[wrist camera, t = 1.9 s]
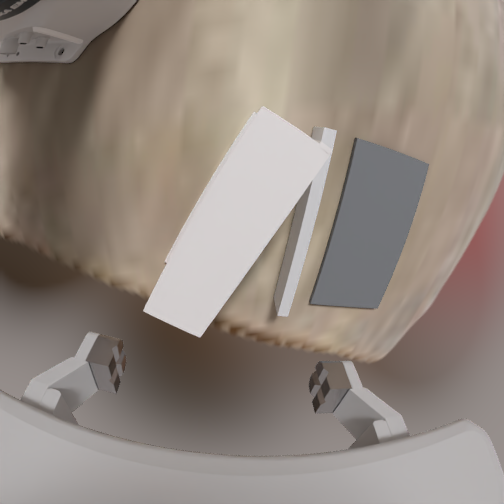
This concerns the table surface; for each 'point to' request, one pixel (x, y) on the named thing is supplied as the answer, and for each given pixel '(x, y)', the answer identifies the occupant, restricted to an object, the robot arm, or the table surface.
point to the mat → (369, 226)
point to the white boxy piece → (235, 219)
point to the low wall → (302, 230)
